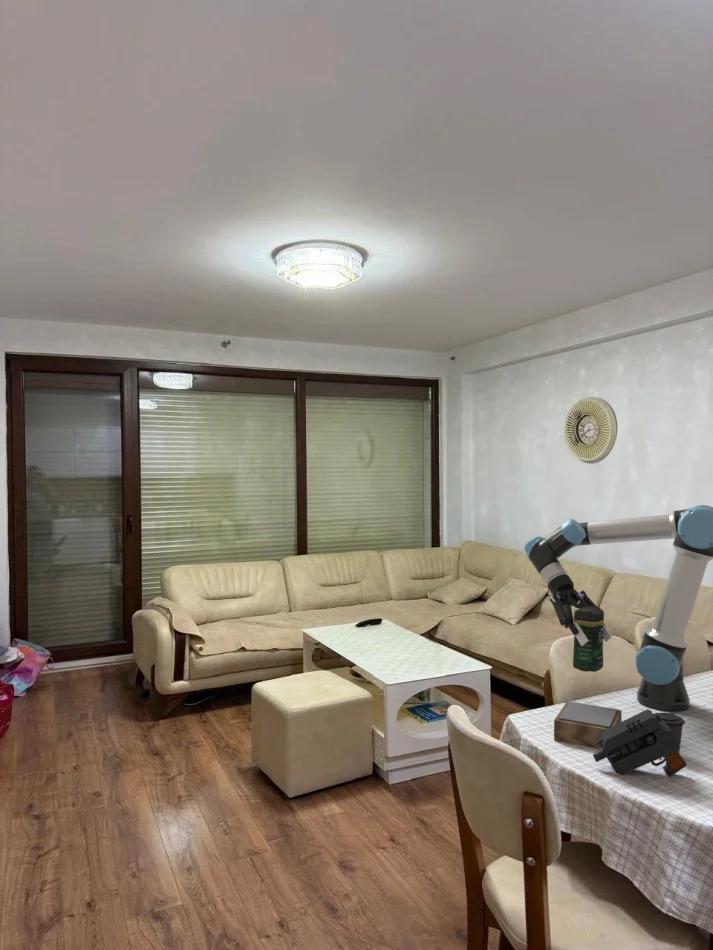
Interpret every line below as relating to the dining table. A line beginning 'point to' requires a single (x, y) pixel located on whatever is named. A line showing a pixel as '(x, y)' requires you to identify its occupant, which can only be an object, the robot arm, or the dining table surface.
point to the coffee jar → (592, 627)
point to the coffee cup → (673, 725)
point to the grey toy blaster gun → (640, 744)
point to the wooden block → (584, 723)
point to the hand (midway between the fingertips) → (597, 641)
